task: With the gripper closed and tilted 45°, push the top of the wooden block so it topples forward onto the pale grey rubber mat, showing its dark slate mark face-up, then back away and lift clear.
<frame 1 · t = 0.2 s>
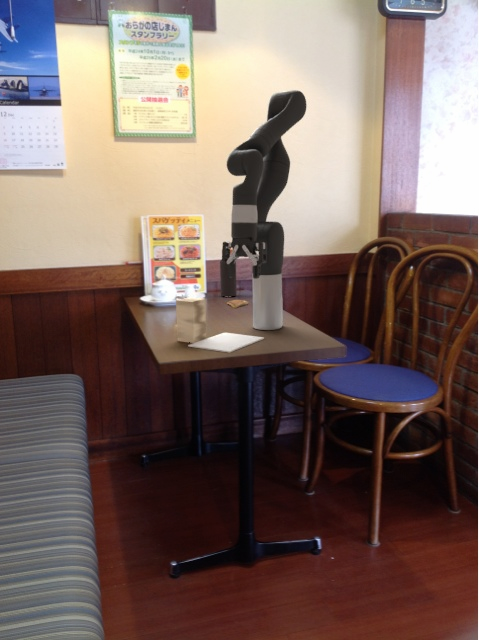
hand: (243, 277, 167), 18 cm above the table, tool pointing down, fingers open, 8 cm apart
wooden block: (192, 339, 167), on the table
shard: (239, 306, 222), on the table
bottle: (228, 296, 244), on the table
mat: (226, 342, 163), on the table
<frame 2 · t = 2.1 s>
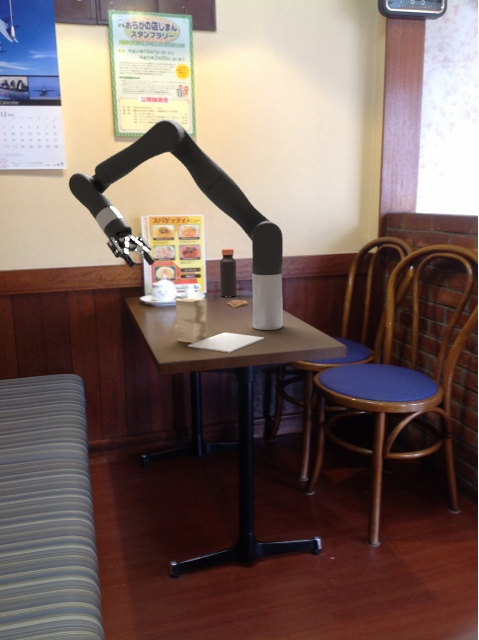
hand: (143, 264, 171), 21 cm above the table, tool tilted 45°, fingers open, 8 cm apart
nothing on the table moved.
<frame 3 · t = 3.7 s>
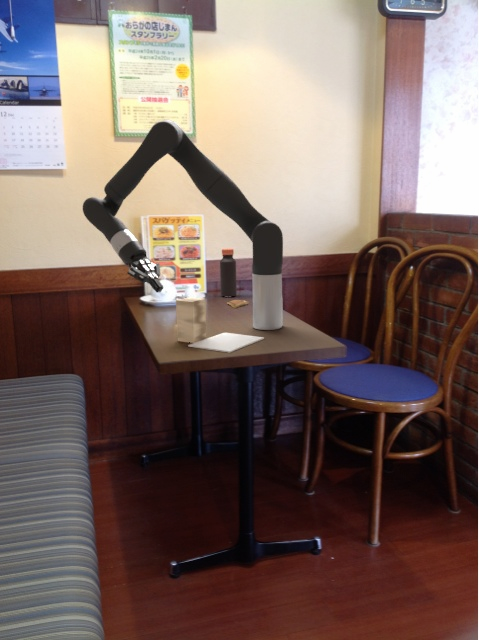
hand: (160, 290, 170), 14 cm above the table, tool tilted 45°, fingers closed
nothing on the table moved.
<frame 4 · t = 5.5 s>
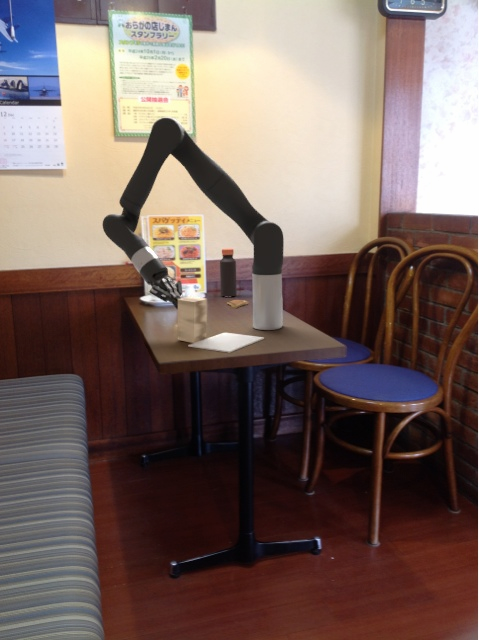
hand: (183, 309, 167), 9 cm above the table, tool tilted 45°, fingers closed
wooden block: (192, 339, 167), on the table, touching gripper
everything else where it was.
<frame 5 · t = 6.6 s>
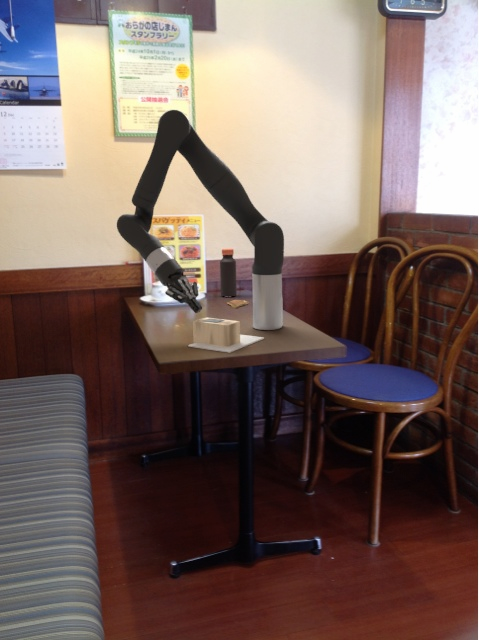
hand: (199, 310, 163), 9 cm above the table, tool tilted 45°, fingers closed
wooden block: (199, 329, 165), point 3 cm above the table, tilted 90°, touching mat
everything else where it was.
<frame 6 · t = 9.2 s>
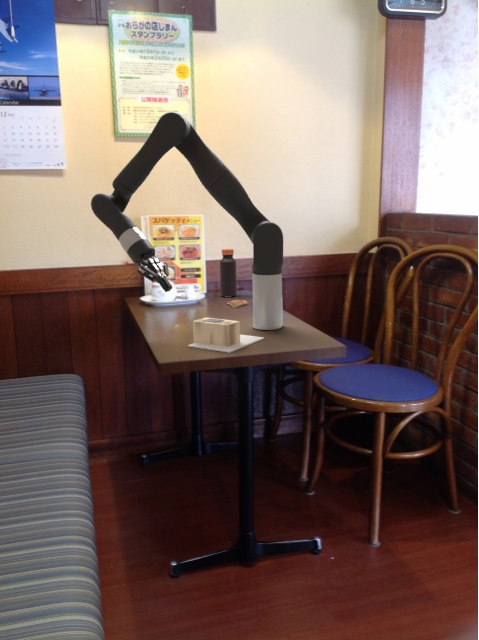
hand: (169, 289, 169), 14 cm above the table, tool tilted 45°, fingers closed
nothing on the table moved.
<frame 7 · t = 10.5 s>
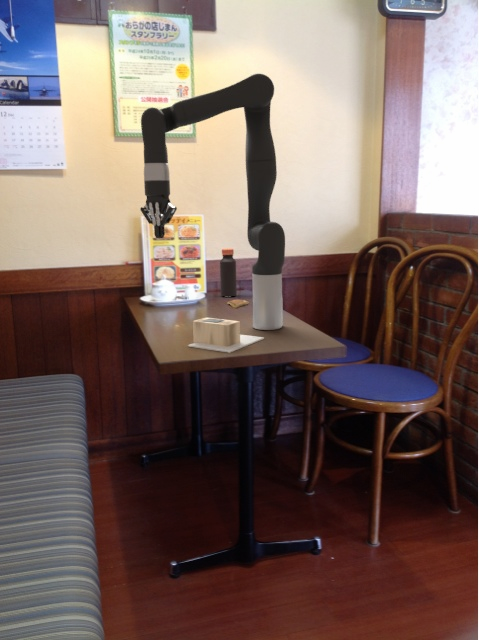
hand: (159, 238, 173), 29 cm above the table, tool pointing down, fingers closed
nothing on the table moved.
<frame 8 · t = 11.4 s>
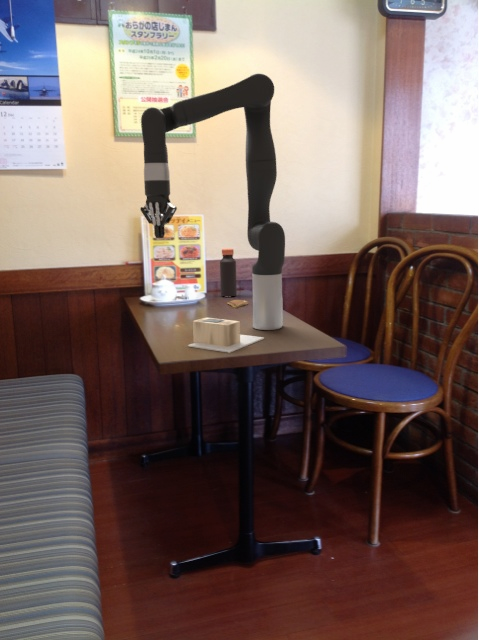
hand: (159, 238, 173), 29 cm above the table, tool pointing down, fingers closed
nothing on the table moved.
at the end: wooden block tilted 90°; wooden block touching mat; wooden block inside the target area (3.1 cm from its centre), point 3.4 cm above the table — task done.
